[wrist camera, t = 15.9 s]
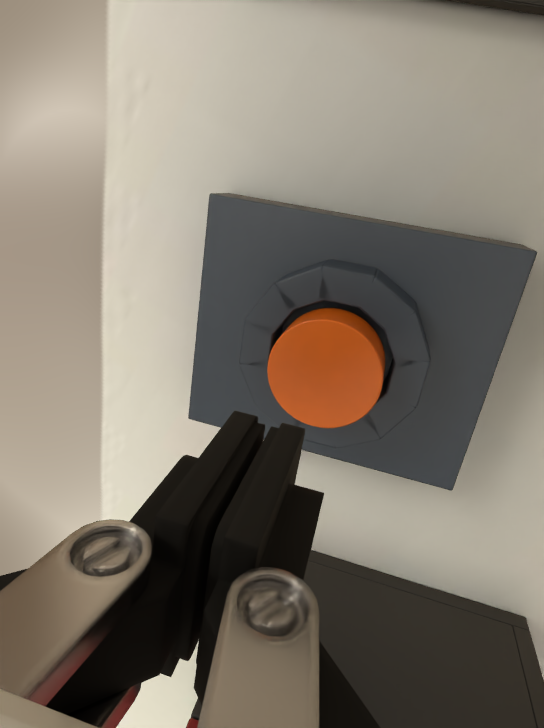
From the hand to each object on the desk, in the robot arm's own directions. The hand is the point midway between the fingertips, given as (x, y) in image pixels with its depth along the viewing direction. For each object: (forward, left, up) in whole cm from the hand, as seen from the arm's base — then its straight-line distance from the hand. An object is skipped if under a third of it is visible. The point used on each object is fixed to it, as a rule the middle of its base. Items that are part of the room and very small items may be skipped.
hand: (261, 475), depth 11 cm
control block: (0, 0, -11) cm, 11 cm away
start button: (0, 0, -8) cm, 8 cm away
